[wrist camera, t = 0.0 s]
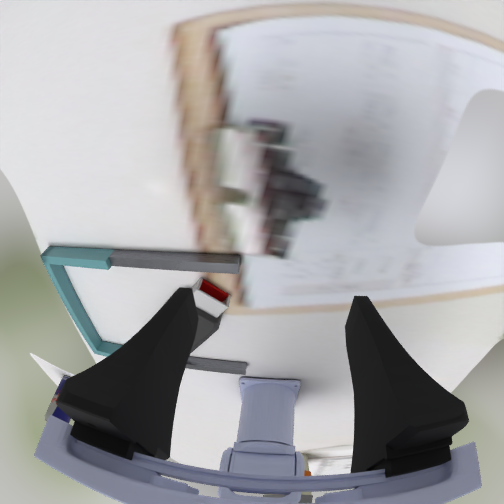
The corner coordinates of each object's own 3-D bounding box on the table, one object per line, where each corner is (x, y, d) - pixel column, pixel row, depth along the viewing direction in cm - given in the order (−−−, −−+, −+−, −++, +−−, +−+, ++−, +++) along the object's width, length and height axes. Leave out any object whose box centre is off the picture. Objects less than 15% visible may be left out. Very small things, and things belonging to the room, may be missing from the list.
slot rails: (246, 366, 33) (245, 374, 32) (156, 355, 34) (153, 362, 33) (239, 255, 24) (237, 264, 23) (114, 249, 25) (108, 256, 24)
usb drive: (148, 327, 32) (140, 345, 29) (193, 269, 26) (184, 289, 23) (185, 347, 33) (180, 366, 31) (240, 297, 27) (236, 318, 25)
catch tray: (156, 355, 34) (152, 366, 33) (99, 343, 35) (94, 353, 34) (114, 249, 25) (105, 260, 23) (49, 246, 26) (40, 255, 24)
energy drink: (80, 381, 47) (60, 427, 37) (86, 391, 50) (68, 434, 40) (60, 371, 46) (40, 415, 37) (67, 382, 50) (48, 423, 40)
